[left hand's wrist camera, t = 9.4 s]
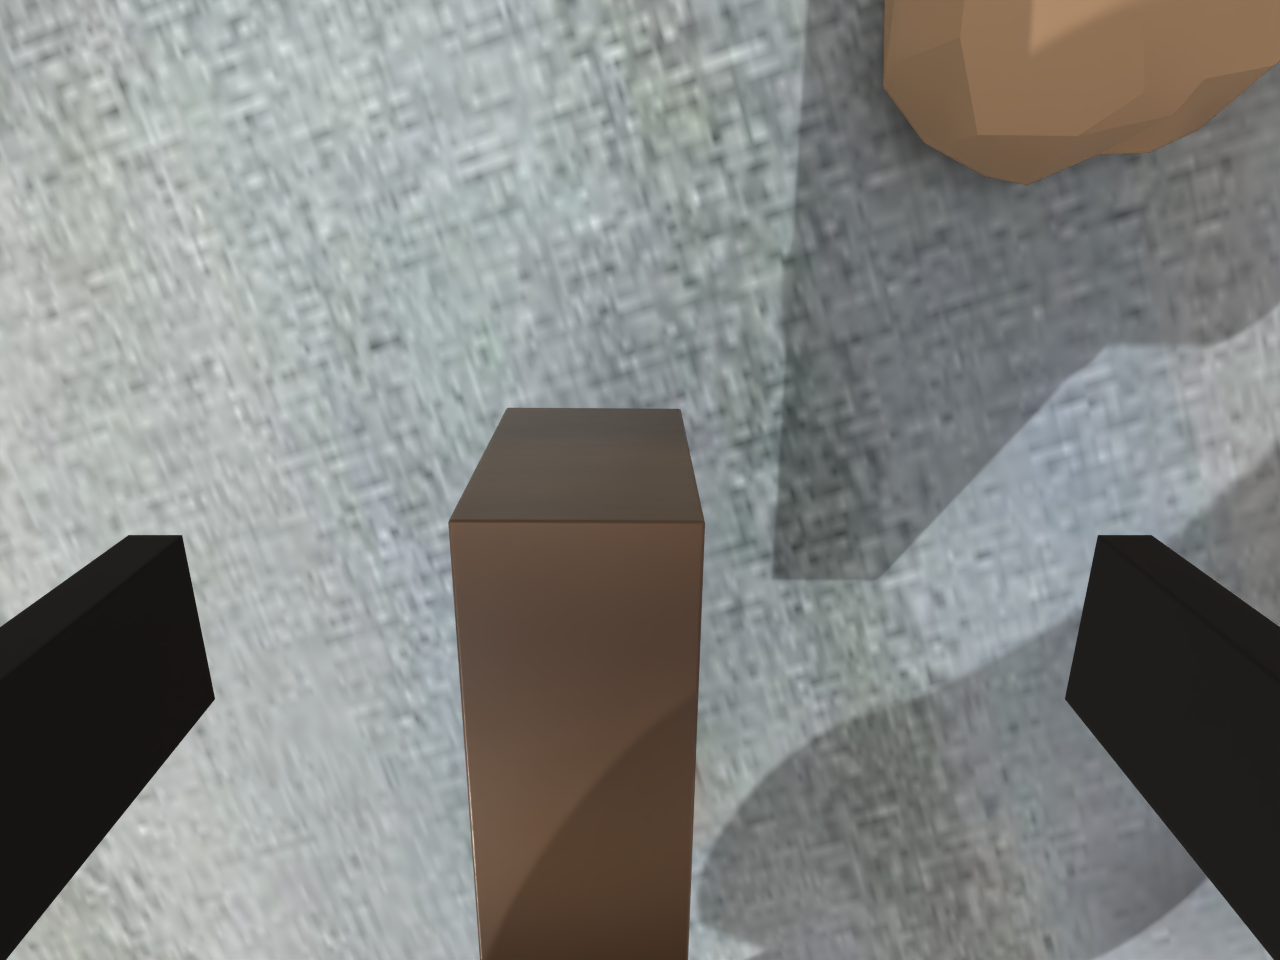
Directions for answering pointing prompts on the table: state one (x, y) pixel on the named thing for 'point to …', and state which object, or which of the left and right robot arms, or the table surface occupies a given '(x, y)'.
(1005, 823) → the table surface
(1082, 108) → the squash
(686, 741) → the bar
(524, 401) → the table surface
